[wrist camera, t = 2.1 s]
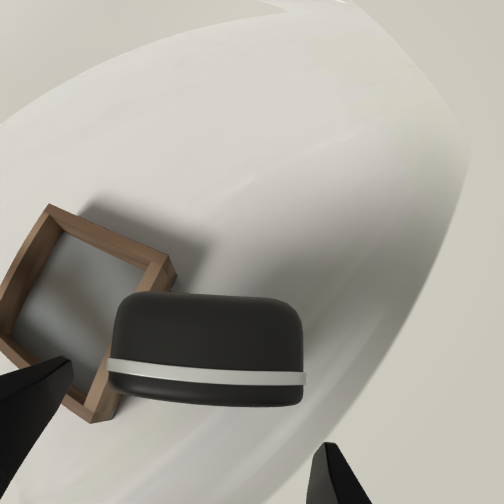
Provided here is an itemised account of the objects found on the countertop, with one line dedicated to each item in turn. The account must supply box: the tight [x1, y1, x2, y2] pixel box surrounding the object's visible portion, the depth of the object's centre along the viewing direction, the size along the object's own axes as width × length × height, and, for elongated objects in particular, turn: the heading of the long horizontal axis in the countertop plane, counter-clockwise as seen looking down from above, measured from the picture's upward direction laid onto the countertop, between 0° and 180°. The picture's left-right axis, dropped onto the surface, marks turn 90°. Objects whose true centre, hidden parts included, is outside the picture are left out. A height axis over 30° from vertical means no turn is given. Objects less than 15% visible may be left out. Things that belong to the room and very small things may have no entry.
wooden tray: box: [0, 204, 177, 424], centre depth 17 cm, size 12×12×4 cm
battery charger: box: [106, 291, 306, 407], centre depth 13 cm, size 7×4×11 cm, turn 89°
